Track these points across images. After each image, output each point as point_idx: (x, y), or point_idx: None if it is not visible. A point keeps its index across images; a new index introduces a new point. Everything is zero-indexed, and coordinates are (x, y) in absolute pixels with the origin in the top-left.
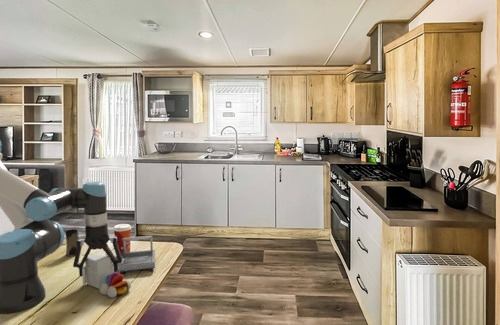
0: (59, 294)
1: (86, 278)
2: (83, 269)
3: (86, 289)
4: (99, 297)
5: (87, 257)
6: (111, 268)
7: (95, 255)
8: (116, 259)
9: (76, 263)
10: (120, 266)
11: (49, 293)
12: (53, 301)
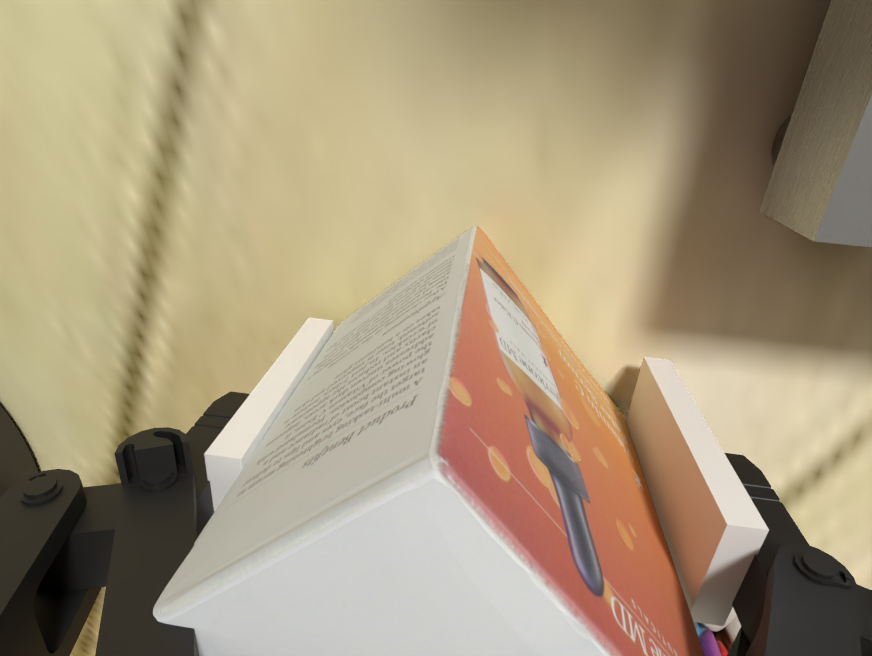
0: None
1: (318, 349)
2: None
3: None
4: None
5: (204, 654)
6: (671, 559)
7: (380, 637)
8: (850, 623)
9: (68, 626)
10: (847, 236)
11: (33, 393)
12: None
